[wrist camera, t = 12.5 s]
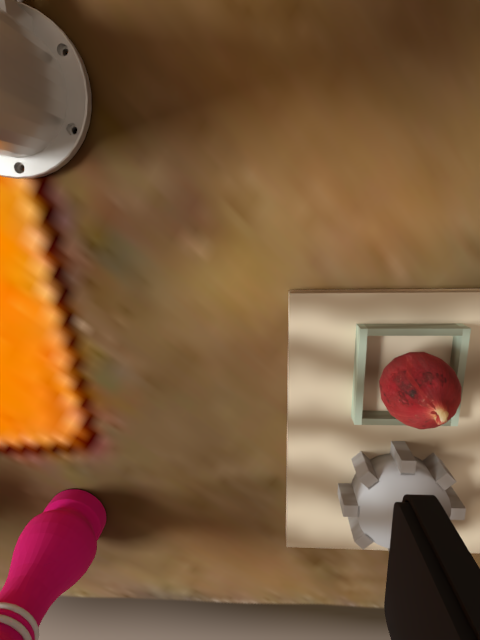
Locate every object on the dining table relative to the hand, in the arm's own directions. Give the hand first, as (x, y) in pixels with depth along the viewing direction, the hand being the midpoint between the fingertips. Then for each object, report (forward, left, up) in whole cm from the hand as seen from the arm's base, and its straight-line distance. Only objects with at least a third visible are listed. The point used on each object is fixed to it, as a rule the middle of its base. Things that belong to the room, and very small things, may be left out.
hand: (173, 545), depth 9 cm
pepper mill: (+24, -18, -28) cm, 41 cm away
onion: (+7, +14, -27) cm, 31 cm away
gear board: (+13, +14, -28) cm, 34 cm away
